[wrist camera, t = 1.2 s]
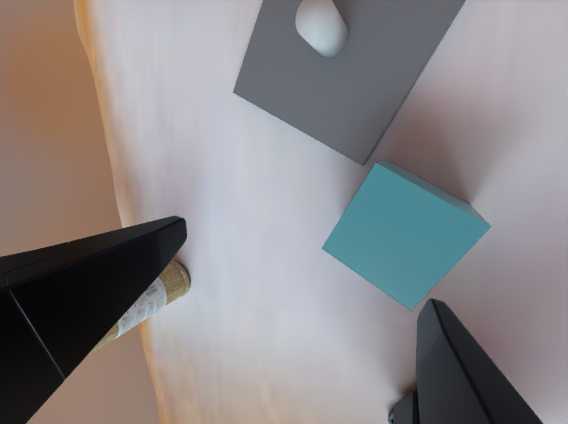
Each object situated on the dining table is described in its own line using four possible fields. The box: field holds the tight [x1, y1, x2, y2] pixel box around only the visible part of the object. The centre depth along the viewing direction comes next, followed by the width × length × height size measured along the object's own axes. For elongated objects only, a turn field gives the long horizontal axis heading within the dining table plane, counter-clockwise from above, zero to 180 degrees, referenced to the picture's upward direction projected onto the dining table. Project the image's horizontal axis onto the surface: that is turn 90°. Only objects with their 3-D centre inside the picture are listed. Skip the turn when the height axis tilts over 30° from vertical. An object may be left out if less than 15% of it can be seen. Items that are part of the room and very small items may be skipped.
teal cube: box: [322, 159, 491, 310], centre depth 16 cm, size 6×6×5 cm
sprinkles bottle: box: [88, 261, 190, 355], centre depth 25 cm, size 5×5×14 cm
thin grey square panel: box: [233, 0, 466, 165], centre depth 16 cm, size 12×12×4 cm
